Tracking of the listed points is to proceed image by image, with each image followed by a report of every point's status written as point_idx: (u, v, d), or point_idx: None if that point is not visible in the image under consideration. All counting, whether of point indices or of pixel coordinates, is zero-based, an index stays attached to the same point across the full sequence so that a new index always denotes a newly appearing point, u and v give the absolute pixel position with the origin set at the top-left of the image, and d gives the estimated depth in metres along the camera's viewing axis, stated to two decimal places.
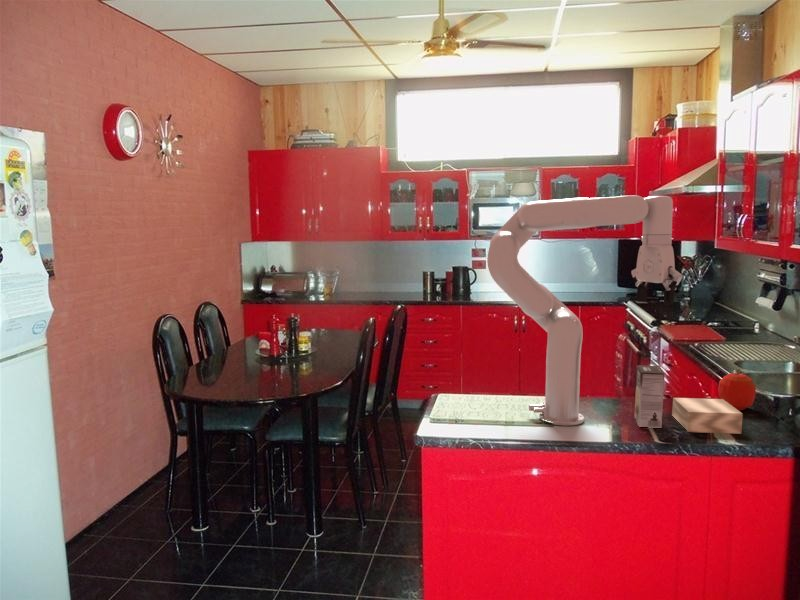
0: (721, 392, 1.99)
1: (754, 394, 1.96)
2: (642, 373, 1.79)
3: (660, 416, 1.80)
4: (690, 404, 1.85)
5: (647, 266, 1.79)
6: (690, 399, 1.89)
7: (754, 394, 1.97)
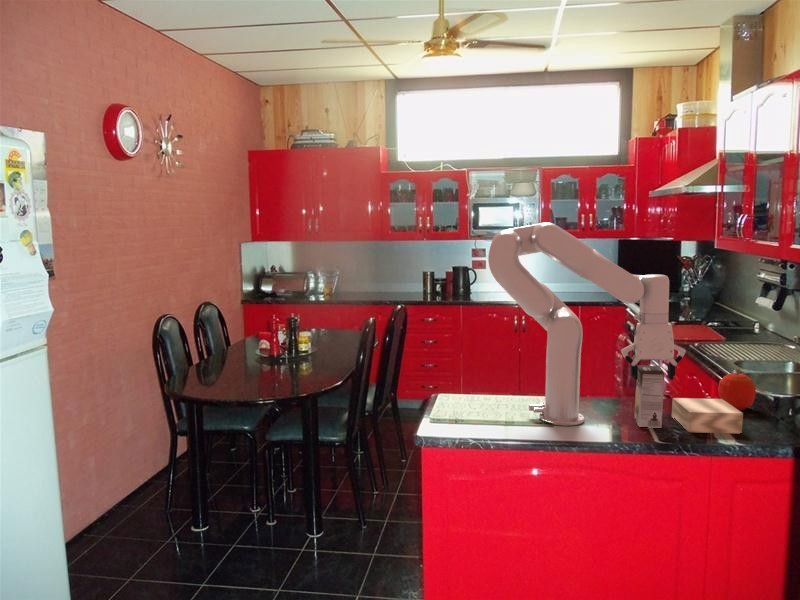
0: (721, 392, 1.99)
1: (754, 394, 1.96)
2: (642, 373, 1.79)
3: (660, 416, 1.80)
4: (690, 404, 1.85)
5: (655, 345, 1.79)
6: (689, 399, 1.89)
7: (754, 394, 1.97)
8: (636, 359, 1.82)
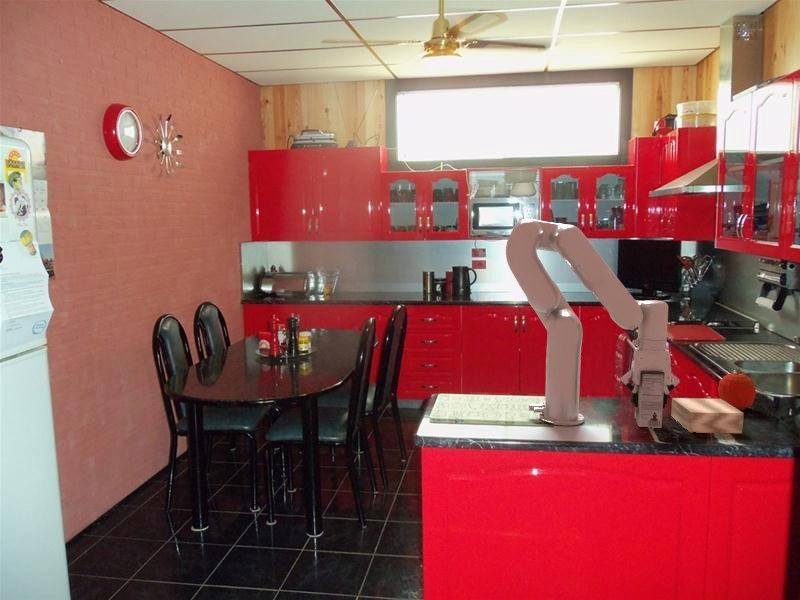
0: (721, 392, 1.99)
1: (754, 394, 1.96)
2: (642, 373, 1.79)
3: (660, 416, 1.80)
4: (691, 404, 1.85)
5: None
6: (689, 399, 1.89)
7: (754, 394, 1.97)
8: (636, 386, 1.83)
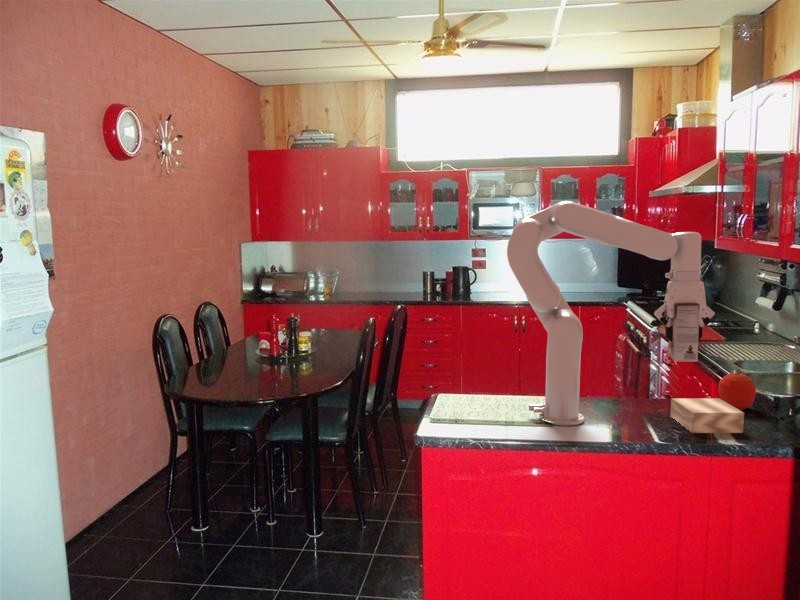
0: (721, 392, 1.99)
1: (754, 394, 1.96)
2: (676, 305, 1.76)
3: (696, 348, 1.77)
4: (691, 404, 1.84)
5: None
6: (688, 399, 1.89)
7: (754, 394, 1.97)
8: (670, 320, 1.80)
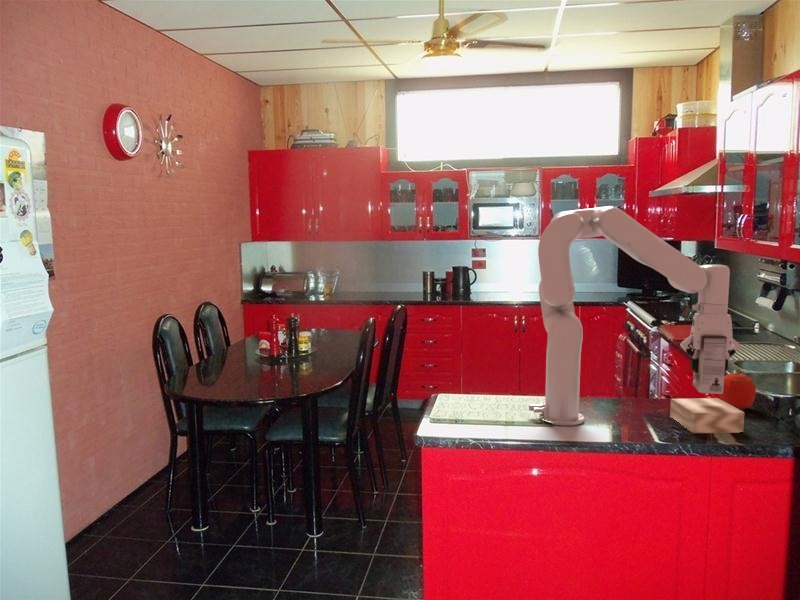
0: None
1: (754, 394, 1.96)
2: (704, 337, 1.77)
3: (722, 381, 1.78)
4: (691, 404, 1.84)
5: None
6: (688, 399, 1.89)
7: (754, 394, 1.97)
8: (696, 351, 1.81)
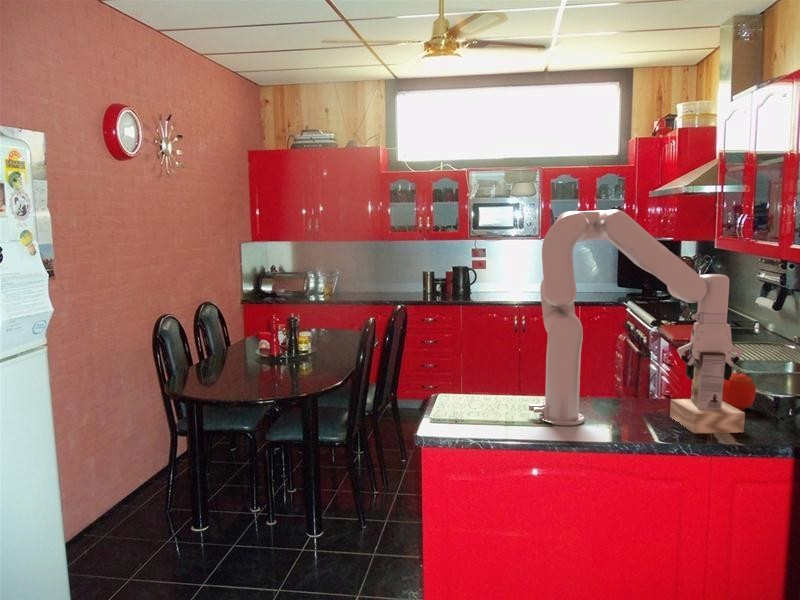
0: None
1: (754, 394, 1.96)
2: (702, 354, 1.78)
3: (720, 398, 1.78)
4: (691, 405, 1.84)
5: (713, 345, 1.79)
6: (688, 400, 1.89)
7: (754, 394, 1.97)
8: (693, 359, 1.81)
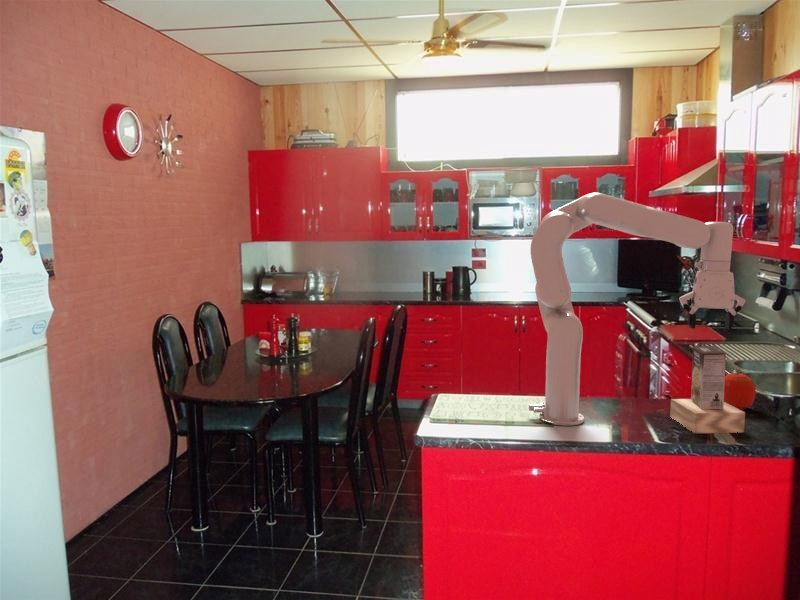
0: None
1: (754, 394, 1.96)
2: (703, 354, 1.78)
3: (722, 396, 1.79)
4: (691, 404, 1.84)
5: (715, 293, 1.77)
6: (688, 400, 1.89)
7: (754, 394, 1.97)
8: (695, 307, 1.79)
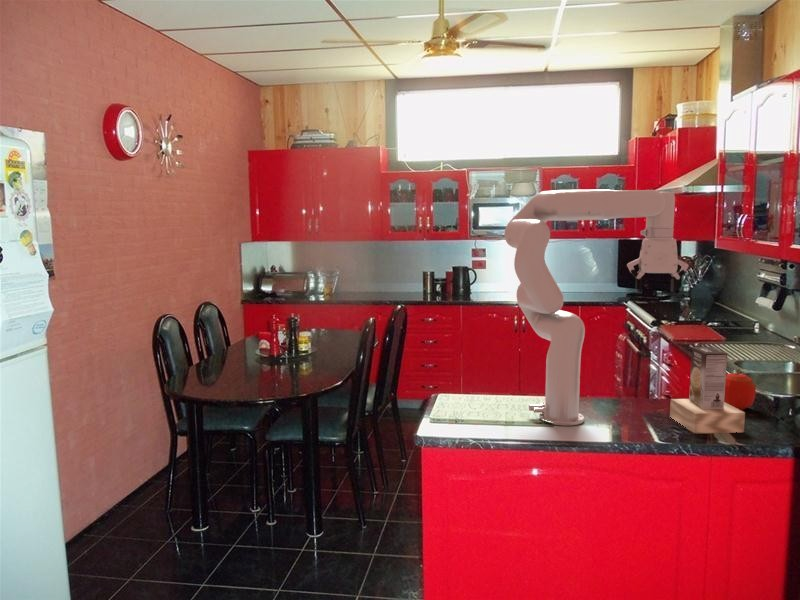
0: None
1: (754, 394, 1.96)
2: (706, 354, 1.77)
3: (723, 397, 1.79)
4: (691, 405, 1.84)
5: (660, 258, 1.89)
6: (687, 400, 1.89)
7: (754, 394, 1.97)
8: (641, 272, 1.91)
